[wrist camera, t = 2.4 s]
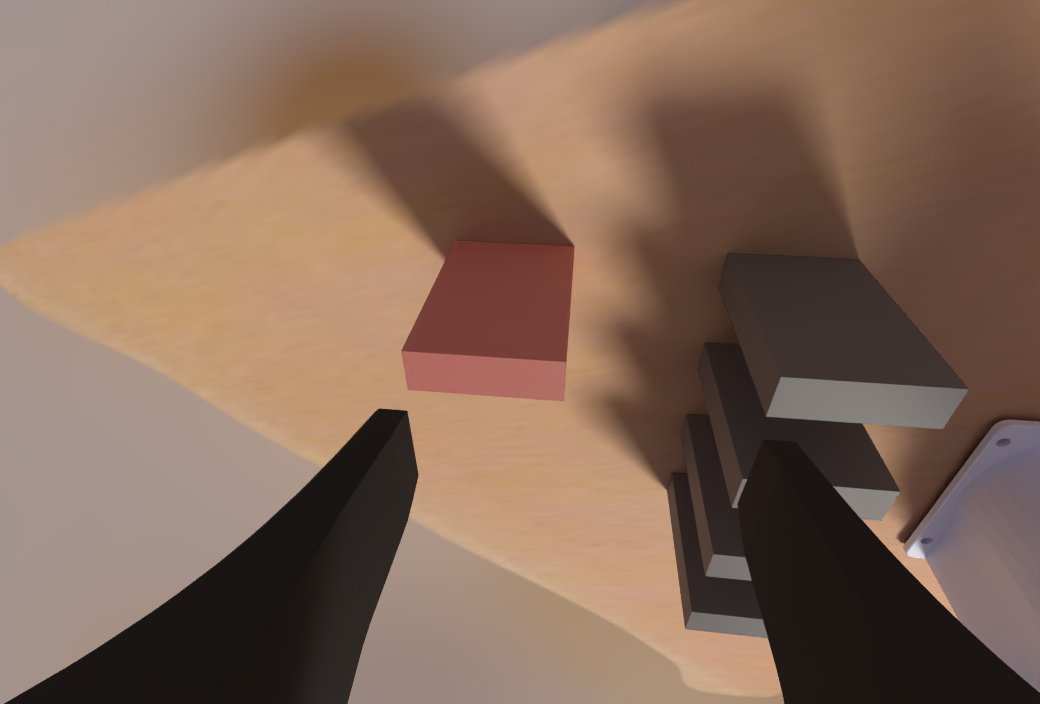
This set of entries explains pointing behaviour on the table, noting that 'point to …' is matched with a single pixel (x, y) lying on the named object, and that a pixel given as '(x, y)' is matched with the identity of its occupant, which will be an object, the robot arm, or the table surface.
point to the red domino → (495, 323)
